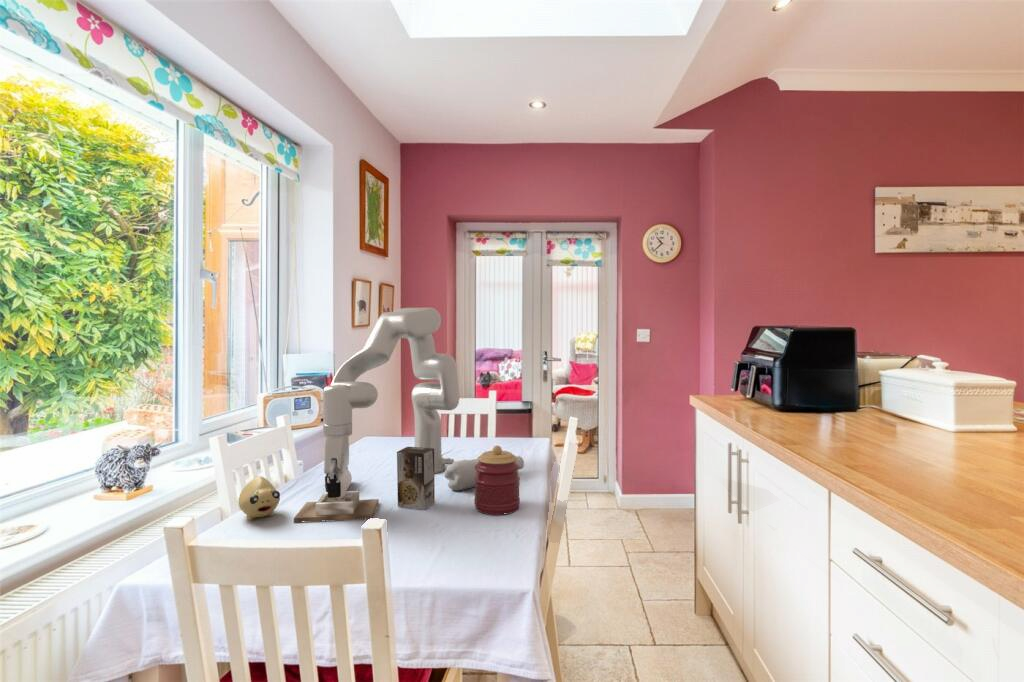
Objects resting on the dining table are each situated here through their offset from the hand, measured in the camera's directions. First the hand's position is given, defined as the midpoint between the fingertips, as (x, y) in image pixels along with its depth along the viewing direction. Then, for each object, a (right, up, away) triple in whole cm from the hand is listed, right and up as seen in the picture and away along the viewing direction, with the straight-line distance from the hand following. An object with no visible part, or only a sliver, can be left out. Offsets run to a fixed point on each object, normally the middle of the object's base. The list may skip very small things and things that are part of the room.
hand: (338, 491), depth 135 cm
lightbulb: (0, -5, +1) cm, 5 cm away
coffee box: (+20, -6, +6) cm, 22 cm away
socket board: (0, -6, 0) cm, 6 cm away
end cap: (-8, -6, +21) cm, 23 cm away
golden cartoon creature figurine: (-20, -6, -4) cm, 21 cm away
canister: (+44, -6, +4) cm, 44 cm away
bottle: (+40, -6, +28) cm, 49 cm away
